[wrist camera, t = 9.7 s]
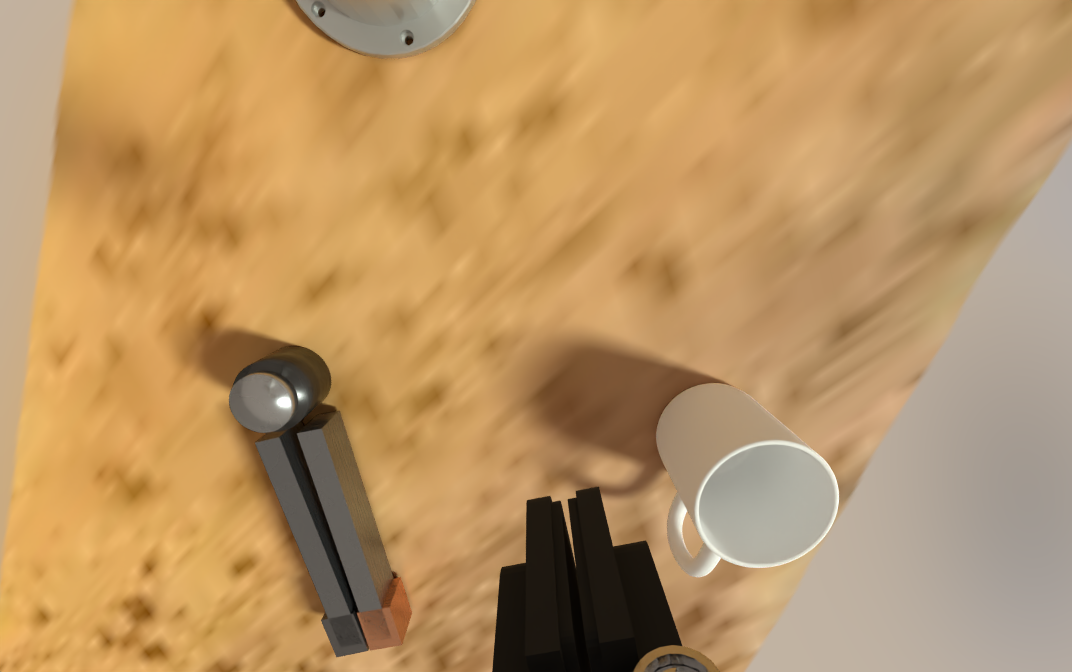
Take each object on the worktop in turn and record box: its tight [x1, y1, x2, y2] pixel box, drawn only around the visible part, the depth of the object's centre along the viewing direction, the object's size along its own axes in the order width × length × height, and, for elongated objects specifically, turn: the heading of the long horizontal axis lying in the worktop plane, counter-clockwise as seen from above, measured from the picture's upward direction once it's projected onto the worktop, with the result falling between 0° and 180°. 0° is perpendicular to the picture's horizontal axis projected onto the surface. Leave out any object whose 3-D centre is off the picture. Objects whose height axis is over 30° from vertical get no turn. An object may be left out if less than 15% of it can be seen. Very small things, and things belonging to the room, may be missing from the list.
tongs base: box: [233, 346, 369, 657], centre depth 37 cm, size 24×6×4 cm, turn 14°
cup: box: [656, 383, 839, 577], centre depth 34 cm, size 8×12×10 cm
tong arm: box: [229, 370, 412, 650], centre depth 37 cm, size 24×5×5 cm, turn 12°
